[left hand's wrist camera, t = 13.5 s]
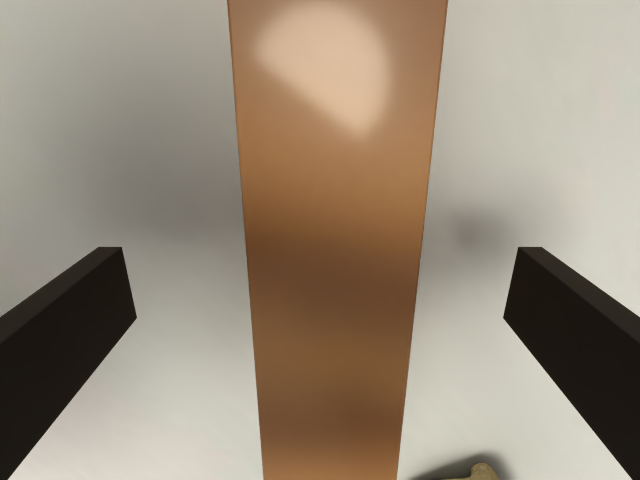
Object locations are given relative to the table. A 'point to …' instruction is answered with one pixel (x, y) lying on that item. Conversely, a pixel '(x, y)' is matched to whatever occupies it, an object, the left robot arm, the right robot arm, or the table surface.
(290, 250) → the beam
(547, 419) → the table surface
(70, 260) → the table surface
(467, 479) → the sculpture
